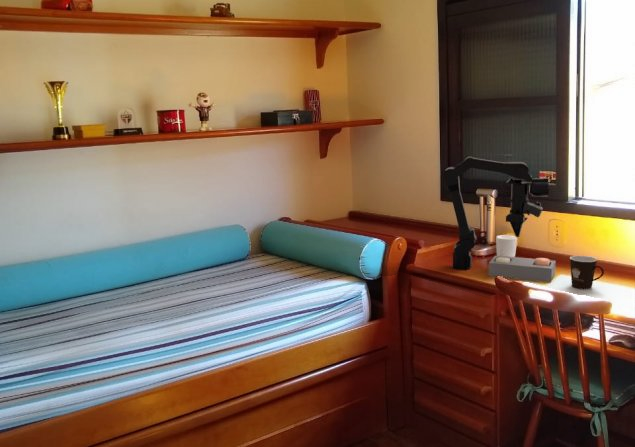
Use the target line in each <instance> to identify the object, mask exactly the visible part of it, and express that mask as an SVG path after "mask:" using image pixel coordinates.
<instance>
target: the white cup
mask: <svg viewBox="0 0 635 447" xmlns="http://www.w3.org/2000/svg"><path fill="white" fill-rule="evenodd" d="M517 238H518V237H516V236H515V235H510V234H501V235H497V236H496V238H495V240H496V243H495V245H496V246H495V247H496V249H495V250H496V256H507V257H516V253H517V252H516V251H517V241H518V239H517Z"/></svg>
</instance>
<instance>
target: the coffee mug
mask: <svg viewBox="0 0 635 447" xmlns="http://www.w3.org/2000/svg"><path fill="white" fill-rule="evenodd" d="M569 262H570V277H571V280H570V281H571V287H572V288H573V289H576V290H591V289H592V288H593V282H595V281H597V280H600V278H602V277H603V276H604V273H605V271H604V268H603V267H602V266H601V265H597V262H598V259H597V258H596V257H592V256H587V255H573V256H570V257H569ZM597 268H599V269H600V270H601V274H600V275H599V276H597V277H595V273H596V272H595V271H596V269H597ZM594 277H595V278H594Z"/></svg>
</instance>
